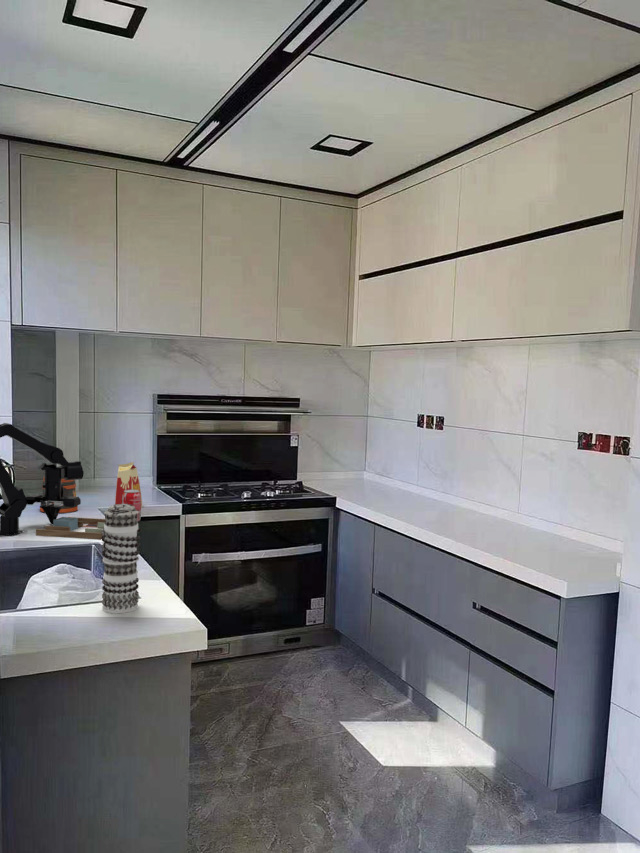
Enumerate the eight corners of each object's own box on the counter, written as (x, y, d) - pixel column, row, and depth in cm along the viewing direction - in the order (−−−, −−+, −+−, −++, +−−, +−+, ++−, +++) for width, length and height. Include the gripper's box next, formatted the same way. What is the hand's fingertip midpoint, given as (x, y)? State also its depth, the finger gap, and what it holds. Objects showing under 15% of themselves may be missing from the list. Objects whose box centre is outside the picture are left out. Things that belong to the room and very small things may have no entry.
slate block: (68, 532, 245) (68, 521, 245) (53, 531, 246) (53, 520, 246) (77, 528, 251) (77, 518, 251) (62, 527, 252) (62, 516, 252)
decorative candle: (111, 599, 172) (112, 501, 171) (146, 603, 171) (147, 503, 169) (93, 611, 163) (94, 507, 162) (129, 615, 162) (130, 510, 160)
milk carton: (142, 507, 295) (143, 460, 293) (131, 511, 286) (131, 463, 285) (123, 505, 297) (124, 459, 296) (111, 509, 288) (112, 461, 287)
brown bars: (107, 539, 235) (107, 531, 234) (35, 535, 238) (35, 526, 237) (133, 526, 257) (133, 518, 257) (67, 522, 260) (67, 514, 260)
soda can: (121, 520, 267) (121, 489, 267) (139, 519, 270) (140, 489, 269) (122, 523, 261) (123, 492, 260) (141, 523, 263) (142, 491, 262)
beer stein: (44, 505, 292) (44, 458, 291) (80, 505, 295) (81, 458, 294) (37, 514, 274) (37, 464, 272) (76, 513, 277) (76, 464, 276)
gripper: (87, 479, 255) (87, 521, 256) (39, 477, 257) (39, 518, 258) (73, 483, 244) (73, 527, 245) (23, 481, 246) (23, 524, 247)
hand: (52, 524), depth 249 cm, fingers closed
